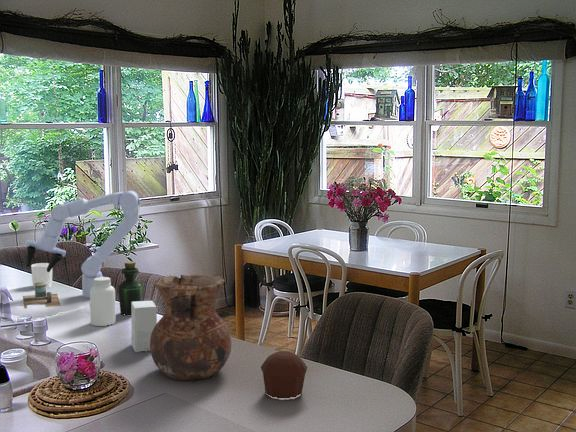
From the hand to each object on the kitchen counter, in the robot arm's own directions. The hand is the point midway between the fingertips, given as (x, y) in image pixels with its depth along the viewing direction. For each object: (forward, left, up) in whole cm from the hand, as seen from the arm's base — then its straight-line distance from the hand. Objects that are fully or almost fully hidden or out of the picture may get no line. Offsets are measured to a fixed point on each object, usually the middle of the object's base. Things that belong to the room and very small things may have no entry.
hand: (37, 268), depth 248 cm
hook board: (-7, +4, -12) cm, 14 cm away
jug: (-95, +31, -12) cm, 100 cm away
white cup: (+11, -12, -12) cm, 20 cm away
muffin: (-123, +31, -12) cm, 127 cm away
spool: (-3, +2, -10) cm, 11 cm away
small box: (-71, +22, -12) cm, 75 cm away
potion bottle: (-42, -4, -12) cm, 44 cm away
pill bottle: (-43, +10, -12) cm, 45 cm away
